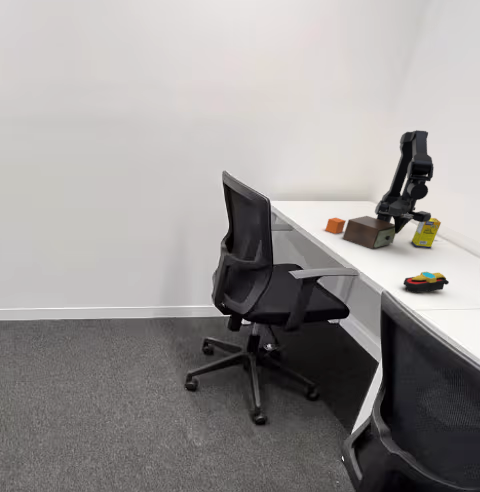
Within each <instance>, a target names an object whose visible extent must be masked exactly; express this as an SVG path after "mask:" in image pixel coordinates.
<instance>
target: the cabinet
mask: <svg viewBox="0 0 480 492" xmlns="http://www.w3.org/2000/svg"><path fill="white" fill-rule="evenodd" d="M389 228H395V223H392V222H390V223H389V222H385V221H382V220H379V219H377V217H372V216H369V215H364V216H359V217H355V218H351V219H350V218H349V219H348V220H347V224H346V227H345V230H344V233H343V237H342V240H345V241H348V242H350V243H354V244H356V245H359V246H362V247H366V248H367V249H371V250H373V249H378V247H374V244H375V241H376V238H377V235H378V232H379V231H381V230H385V229H389ZM389 245H390V244H387V245H384V246H383V247H385V246H389ZM380 247H382V246H380ZM380 247H379V248H380Z"/></svg>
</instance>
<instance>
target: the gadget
mask: <svg viewBox="0 0 480 492" xmlns="http://www.w3.org/2000/svg"><path fill="white" fill-rule="evenodd" d="M449 283H450V282H449V280H447V278H446V276H445V275H444V274H443V273H441V272H430V271H422V272H420V274H419V275H416V276H411V277H406V278H405V279H404V280H403V285H404V286H405V290H407V292H412V293H424V292H431V293H432V292H434V291H441V290H443V289H444V286H445V285H446V286H447V285H449Z"/></svg>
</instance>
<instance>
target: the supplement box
mask: <svg viewBox="0 0 480 492" xmlns="http://www.w3.org/2000/svg"><path fill="white" fill-rule="evenodd" d="M441 224H442V221H440V220H439V219H438V218H436V217H431V218H430V221H426V222H418V225H417V227H416V229H415V231H414V234H413V237H412V239H411V242H410V243H411V244H412V245H413V246H414V247H415V248H421V249H431V248H432V246H433V244H434V241H435V239H436V236H437V234H438V231H439V229H440V227H441Z"/></svg>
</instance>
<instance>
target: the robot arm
mask: <svg viewBox="0 0 480 492" xmlns="http://www.w3.org/2000/svg"><path fill="white" fill-rule="evenodd" d="M428 136H429V132H428V131H427V130H417V129H416V130H413V131H406V132H404V133H403V134H402V135H401V136H400V140H399V151H400V157H399V160H398V163H397V166H396V169H395V172H394V174H393V177H392V180H391V184H390V187H389V190H388V191H386V193H384V194H383V195H382V198H381V200H379V202H378V203H377V205H376V206H375V209H374V213H375V215H377V216H376V219H379V220H382V221H385V222H389V223H391V220H392V219H393V222H394V223H393V224H395V233H396V235H397V234H399V233H400V232H401V231H402V230H403V228H404V227H405V226H406V225H407V224H408V223H409V222H410V221H412V220H413V221H416V222H418V223H419V222H426V221H430V218H432V214H431V212H428V211H423V210H419V211H415V210H416V207H415V206H416V204H417V201H419V200H423V199H425V197H426V196H427V195H428V194H429V187H428V186H427V185H426V183H427V182H431V180H432V178H433V177H434V168H435V167H434V163H433V158H432V157H431V155H429V154H428ZM406 179H407V180H406ZM405 181H406V182H405ZM402 189H403V190H402Z"/></svg>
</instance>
